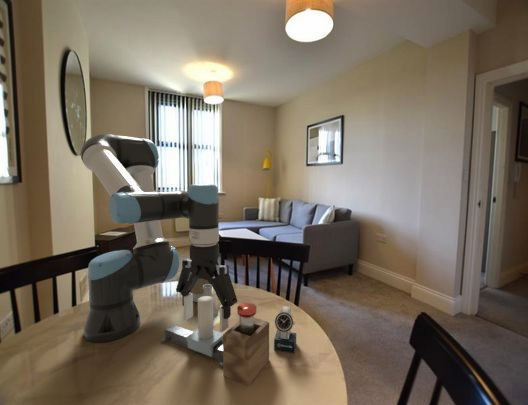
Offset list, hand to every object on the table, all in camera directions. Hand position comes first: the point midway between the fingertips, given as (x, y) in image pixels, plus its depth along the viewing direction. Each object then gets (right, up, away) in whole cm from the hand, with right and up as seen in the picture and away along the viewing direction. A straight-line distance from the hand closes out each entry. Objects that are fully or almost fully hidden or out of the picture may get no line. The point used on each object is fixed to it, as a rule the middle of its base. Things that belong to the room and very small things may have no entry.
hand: (205, 323), depth 70 cm
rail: (-3, -8, +2) cm, 8 cm away
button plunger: (+12, +1, -6) cm, 13 cm away
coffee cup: (-9, -6, +33) cm, 34 cm away
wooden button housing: (+12, -8, -6) cm, 15 cm away
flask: (-4, -6, +21) cm, 22 cm away
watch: (+22, -8, +2) cm, 23 cm away
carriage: (0, -6, +1) cm, 6 cm away
